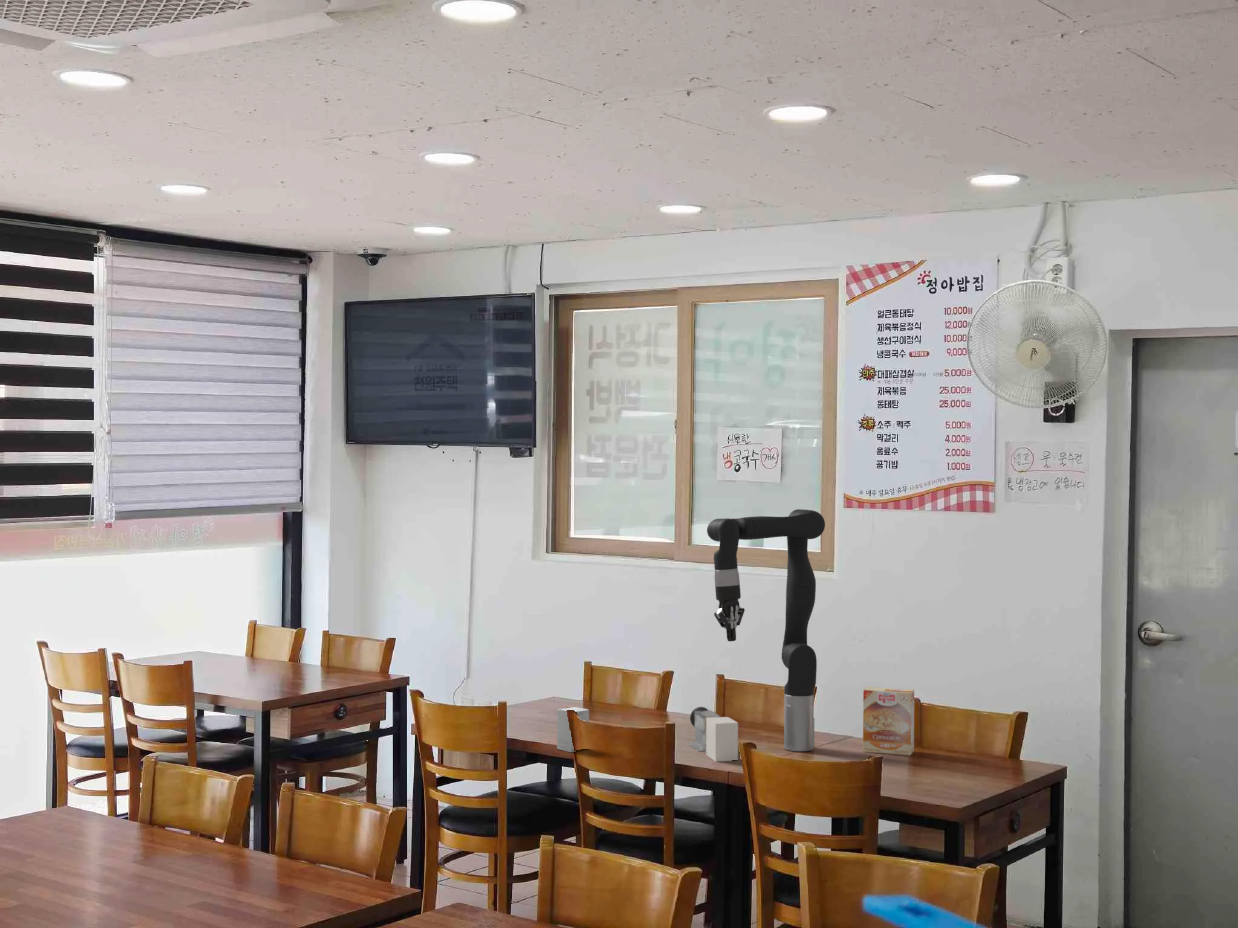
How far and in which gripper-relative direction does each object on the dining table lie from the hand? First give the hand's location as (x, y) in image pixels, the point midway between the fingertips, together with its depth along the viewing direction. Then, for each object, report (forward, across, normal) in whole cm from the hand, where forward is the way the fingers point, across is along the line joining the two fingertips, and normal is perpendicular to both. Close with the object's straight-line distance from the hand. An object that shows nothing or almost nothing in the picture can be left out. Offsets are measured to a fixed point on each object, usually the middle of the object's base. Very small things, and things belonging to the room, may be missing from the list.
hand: (731, 640), depth 417 cm
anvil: (+35, +7, +19) cm, 40 cm away
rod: (+31, +5, +15) cm, 34 cm away
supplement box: (+32, -24, +48) cm, 62 cm away
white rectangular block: (+35, -2, +6) cm, 36 cm away
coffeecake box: (+40, +40, -27) cm, 63 cm away
